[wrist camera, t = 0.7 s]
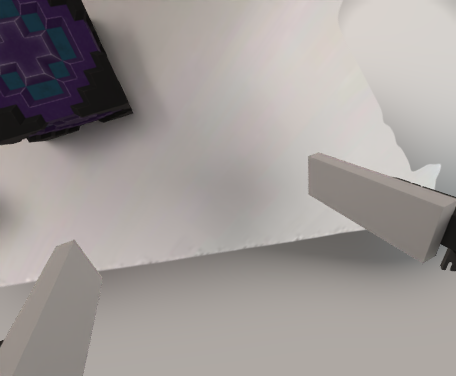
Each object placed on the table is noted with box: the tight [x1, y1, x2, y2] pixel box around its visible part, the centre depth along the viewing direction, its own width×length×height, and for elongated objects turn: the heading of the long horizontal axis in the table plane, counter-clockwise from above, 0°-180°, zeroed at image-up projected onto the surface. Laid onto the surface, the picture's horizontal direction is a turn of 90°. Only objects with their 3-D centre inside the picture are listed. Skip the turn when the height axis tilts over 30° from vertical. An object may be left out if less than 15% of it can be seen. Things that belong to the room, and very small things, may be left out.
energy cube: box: [0, 0, 133, 145], centre depth 22 cm, size 12×12×12 cm
